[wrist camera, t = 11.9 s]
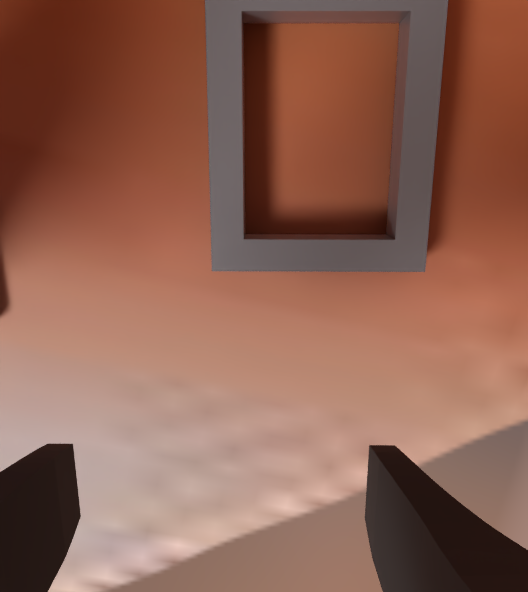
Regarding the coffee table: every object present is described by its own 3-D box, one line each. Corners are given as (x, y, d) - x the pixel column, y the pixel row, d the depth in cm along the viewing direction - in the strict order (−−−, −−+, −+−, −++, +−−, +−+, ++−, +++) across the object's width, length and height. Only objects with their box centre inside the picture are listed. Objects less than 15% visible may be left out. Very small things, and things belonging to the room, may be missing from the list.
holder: (216, 263, 20) (211, 271, 19) (209, -15, 18) (204, -30, 16) (413, 264, 20) (425, 271, 19) (435, -15, 18) (451, -31, 16)
